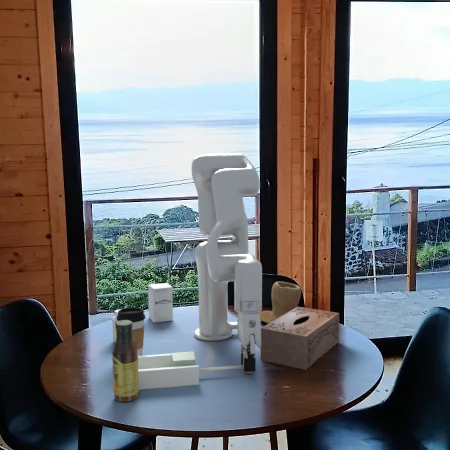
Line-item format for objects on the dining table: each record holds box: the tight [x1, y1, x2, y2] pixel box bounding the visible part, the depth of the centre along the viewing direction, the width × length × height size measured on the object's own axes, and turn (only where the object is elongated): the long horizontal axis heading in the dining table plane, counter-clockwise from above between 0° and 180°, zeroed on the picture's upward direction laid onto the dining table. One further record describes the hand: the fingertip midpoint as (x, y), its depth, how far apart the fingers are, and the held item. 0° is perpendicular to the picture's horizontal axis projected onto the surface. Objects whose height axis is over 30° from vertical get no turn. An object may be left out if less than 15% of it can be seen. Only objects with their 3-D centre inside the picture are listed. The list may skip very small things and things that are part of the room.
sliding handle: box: [170, 349, 254, 374], centre depth 157 cm, size 22×6×6 cm, turn 100°
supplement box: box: [147, 282, 174, 324], centre depth 208 cm, size 7×7×13 cm
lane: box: [138, 351, 200, 391], centre depth 155 cm, size 18×11×6 cm, turn 100°
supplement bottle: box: [112, 308, 122, 344], centre depth 185 cm, size 6×6×10 cm
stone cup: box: [259, 281, 302, 324], centre depth 201 cm, size 15×12×15 cm
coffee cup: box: [117, 307, 146, 356], centre depth 169 cm, size 8×8×15 cm
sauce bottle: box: [111, 320, 140, 403], centre depth 143 cm, size 7×6×20 cm
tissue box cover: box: [260, 306, 340, 371], centre depth 175 cm, size 26×14×10 cm, turn 148°
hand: (248, 368), depth 159 cm, fingers closed on sliding handle, 2 cm apart
